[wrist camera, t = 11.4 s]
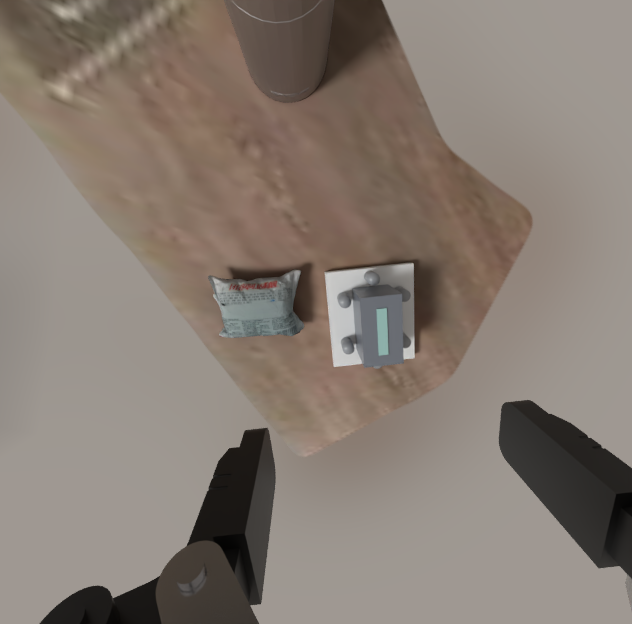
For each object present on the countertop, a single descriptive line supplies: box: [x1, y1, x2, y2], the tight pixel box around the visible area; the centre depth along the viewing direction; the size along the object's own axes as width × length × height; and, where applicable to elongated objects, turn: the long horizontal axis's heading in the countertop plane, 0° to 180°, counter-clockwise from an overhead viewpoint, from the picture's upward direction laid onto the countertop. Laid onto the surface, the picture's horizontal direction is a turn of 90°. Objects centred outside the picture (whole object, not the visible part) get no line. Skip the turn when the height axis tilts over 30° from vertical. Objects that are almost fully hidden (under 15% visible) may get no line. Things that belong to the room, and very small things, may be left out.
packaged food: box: [208, 270, 304, 338], centre depth 39 cm, size 9×12×5 cm
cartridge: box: [352, 284, 404, 368], centre depth 38 cm, size 9×5×6 cm, turn 6°
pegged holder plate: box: [325, 262, 415, 369], centre depth 41 cm, size 14×12×4 cm
